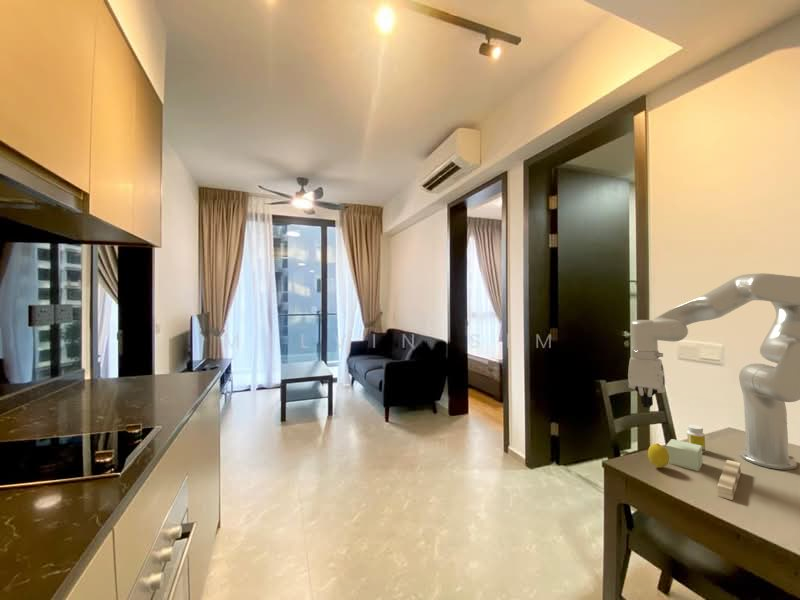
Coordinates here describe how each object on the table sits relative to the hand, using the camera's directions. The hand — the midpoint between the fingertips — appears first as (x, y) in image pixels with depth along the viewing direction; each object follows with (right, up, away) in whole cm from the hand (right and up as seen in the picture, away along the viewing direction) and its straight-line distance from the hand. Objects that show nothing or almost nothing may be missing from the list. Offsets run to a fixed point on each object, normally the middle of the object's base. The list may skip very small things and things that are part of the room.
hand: (647, 406), depth 121 cm
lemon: (-3, -17, -9) cm, 20 cm away
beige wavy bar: (+10, -16, -20) cm, 28 cm away
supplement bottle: (+18, -16, +1) cm, 24 cm away
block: (+7, -17, -7) cm, 20 cm away
